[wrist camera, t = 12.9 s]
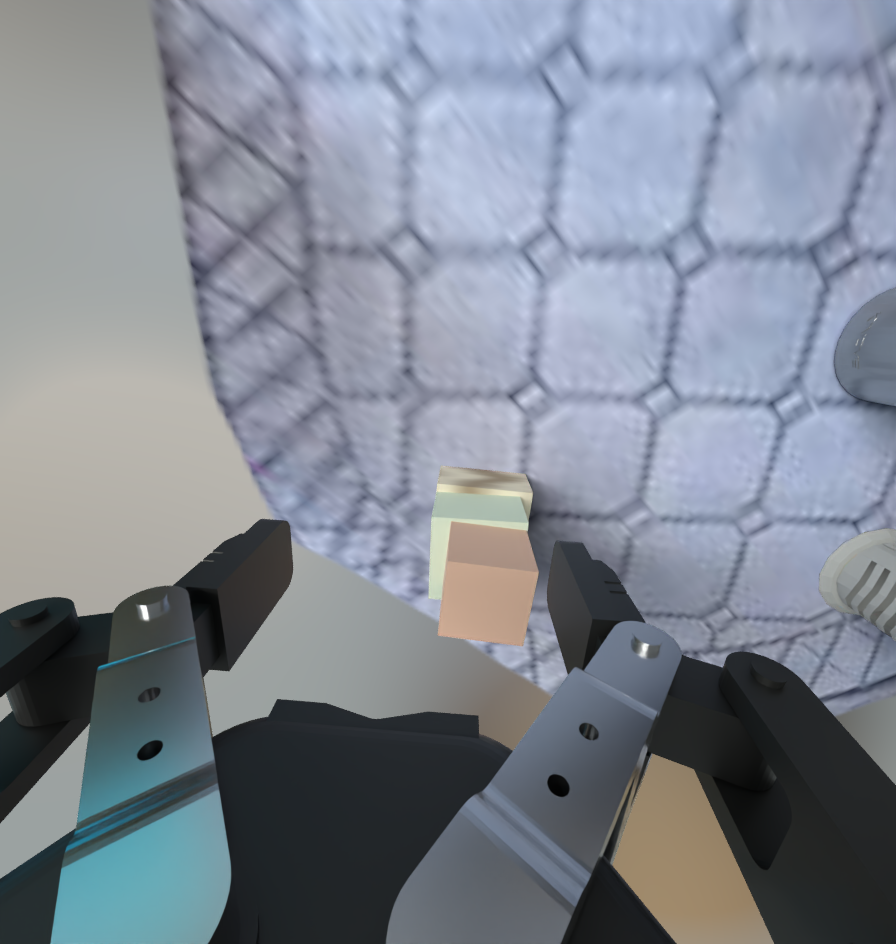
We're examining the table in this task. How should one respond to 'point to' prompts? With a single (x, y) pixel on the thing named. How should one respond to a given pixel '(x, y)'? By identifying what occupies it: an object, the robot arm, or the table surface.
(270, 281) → the table surface
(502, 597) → the terracotta block
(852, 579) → the french press
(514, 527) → the sage top block
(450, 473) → the birch base block
